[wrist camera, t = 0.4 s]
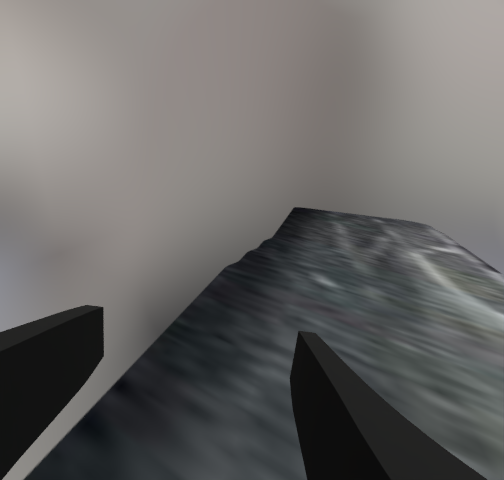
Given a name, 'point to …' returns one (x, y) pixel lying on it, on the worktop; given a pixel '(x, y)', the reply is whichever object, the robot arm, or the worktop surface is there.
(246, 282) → the worktop surface
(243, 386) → the worktop surface
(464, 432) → the worktop surface
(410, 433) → the robot arm
